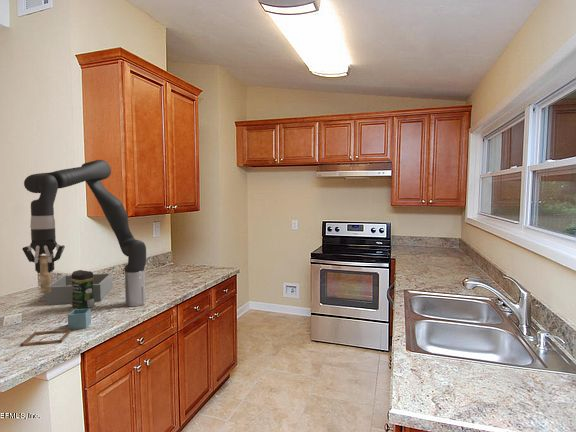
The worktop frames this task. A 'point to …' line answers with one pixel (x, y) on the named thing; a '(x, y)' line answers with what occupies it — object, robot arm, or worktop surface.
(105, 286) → the grey open bin
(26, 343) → the tray
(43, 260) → the dowel
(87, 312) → the blue open box
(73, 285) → the coffee jar
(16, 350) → the worktop surface
